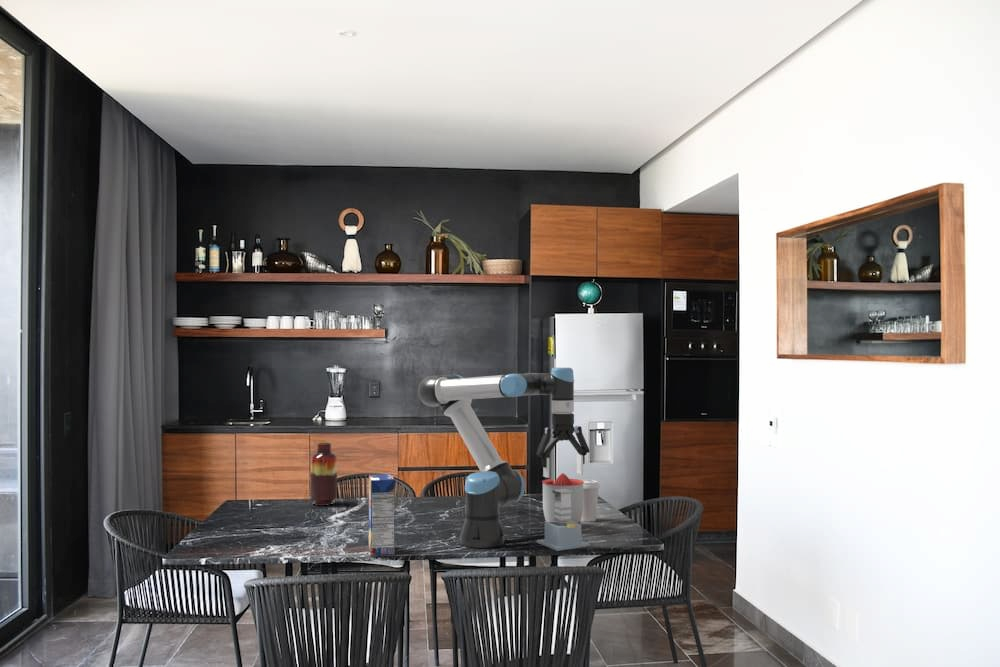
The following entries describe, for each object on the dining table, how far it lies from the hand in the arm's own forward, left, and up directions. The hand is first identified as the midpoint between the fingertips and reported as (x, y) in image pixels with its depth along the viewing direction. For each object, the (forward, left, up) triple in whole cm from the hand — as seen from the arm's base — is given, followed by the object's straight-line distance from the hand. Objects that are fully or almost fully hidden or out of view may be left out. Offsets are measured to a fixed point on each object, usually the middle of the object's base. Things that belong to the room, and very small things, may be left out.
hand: (563, 475), depth 261 cm
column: (0, 0, -23) cm, 23 cm away
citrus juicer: (+15, +23, -23) cm, 36 cm away
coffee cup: (+30, +28, -23) cm, 47 cm away
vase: (-51, +109, -23) cm, 123 cm away
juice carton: (-57, +21, -23) cm, 65 cm away
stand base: (0, 0, -23) cm, 23 cm away
